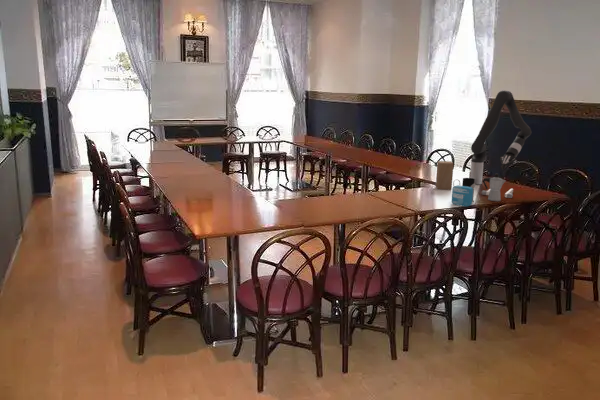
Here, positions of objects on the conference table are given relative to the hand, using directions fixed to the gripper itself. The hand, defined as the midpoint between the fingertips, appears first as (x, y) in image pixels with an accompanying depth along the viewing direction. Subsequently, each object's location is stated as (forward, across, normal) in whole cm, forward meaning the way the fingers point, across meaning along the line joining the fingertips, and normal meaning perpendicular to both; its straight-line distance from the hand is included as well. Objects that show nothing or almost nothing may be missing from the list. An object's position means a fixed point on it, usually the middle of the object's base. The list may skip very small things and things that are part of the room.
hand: (502, 168), depth 349 cm
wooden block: (+26, -34, +1) cm, 43 cm away
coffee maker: (+29, +9, -3) cm, 30 cm away
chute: (+12, 0, +13) cm, 18 cm away
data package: (+50, +6, -24) cm, 56 cm away
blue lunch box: (+42, -1, -16) cm, 45 cm away
